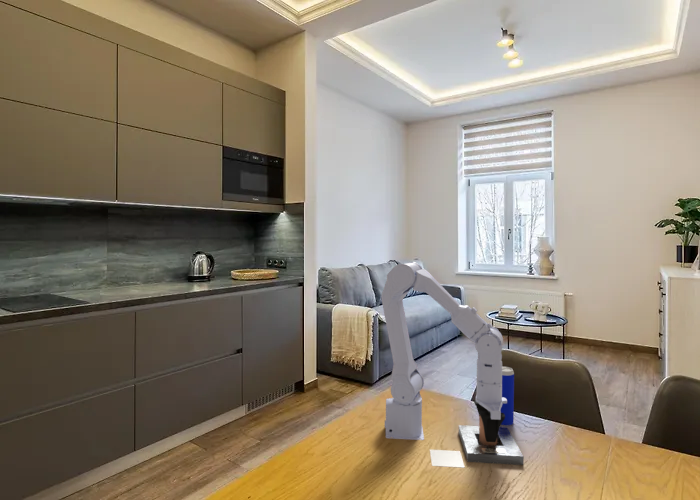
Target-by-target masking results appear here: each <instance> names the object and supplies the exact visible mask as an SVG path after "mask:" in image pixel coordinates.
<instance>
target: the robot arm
mask: <svg viewBox="0 0 700 500" xmlns="http://www.w3.org/2000/svg"><path fill="white" fill-rule="evenodd" d="M411 290H412V291H415V292H419V293H420V292H421V293H426V294H427V295H429V297H430V298H432V299H433V300H434V301H435V302H436V303H438V304H439V305H440V306H441V307H442V308H443V309H444V310H445V311H446V312H448V313H449V314H450V316H451V317H450V318H451V323H452V324H453V325H454V326H455V327H456V328H457V329H458V330H459V331H460V332H462V334H463V335H464V336H465V337H467V338H468V339H469V340H470V341H471V342H473V343H474V347H475V350H476V352H477V358H476V359H477V360H476V395H475V400H473V403H474V405H475V407H476V410H477V413H478V416H479V415H480V416H481V418H482V422H483V426H484V433H485V438H486V441H487V442H496V439H497V435H498V431H499V428H500V427H502V425H501V424H502V422H503V421H504V419H505V414H504V413H501V411H500V410H501V407H502V404H503V403H507V399H506V398H504V397H502V366H503V361H502V358H503V354H502V351H503V344H504V338H503V334H502V333H501V331H499V329H498V328H497V327H494V326H493V324H492V323H491V322H489V323H488V322H487V321H486V320H485V319H483V317H481V316H480V314H478V313H477V312H478V309H476V307H474V306H473V307H472V308H471V307H470V305H467V304H460V303H459V302H458V300H457V299H455V298H454V297H453V296H452V294H450V293H449V291H448V290H446V289H445V287H444V286H443V285H442V284H441V283H440V282H439V281H438V280H437V279H436V278H435V277H434V276H433V275H432V274H431V273H430V272H429V271H428V270H426V269H425V268H423V267H422V266H421V265H420V264H419V263H417V262H415V261H409V262H408V261H407V262H405V263H399V264H396V265H394V266H393V268H391V269H390V270H389V271H388V273H387V274H386V281H385V284H384V287H383V289H382V292H381V297H380V298H381V304H382V309H383V313H384V321H385V325H386V330H387V331H386V332H387V336H388V341H389V346H390V352H391V357H392V362H393V366H392V372H391V380H392V381H391V385H390V394H391V396H392V397H390V398H386V399H385V420H384V428H385V438H386V439H394V440H395V439H396V440H413V441H414V440H415V441H424V440H425V435H424V428H423V424H422V423H423V421H422V419H423V417H422V416H423V409H422V408H423V398H422V395H421V392H420V391H421V390H422V389H423V387H424V384H425V380H424V376H423V375H422V374H421V371H419V368H418V364H417V362H416V361H415V360H414V357H413V351H412V350H413V349H412V346H411V339H410V336H409V330H408V329H409V328H408V323H407V318H406V314H405V313H406V312H405V308H404V302H403V299H404V298H405V297H406V295H407V294H408V293H409V292H410V291H411Z"/></svg>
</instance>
